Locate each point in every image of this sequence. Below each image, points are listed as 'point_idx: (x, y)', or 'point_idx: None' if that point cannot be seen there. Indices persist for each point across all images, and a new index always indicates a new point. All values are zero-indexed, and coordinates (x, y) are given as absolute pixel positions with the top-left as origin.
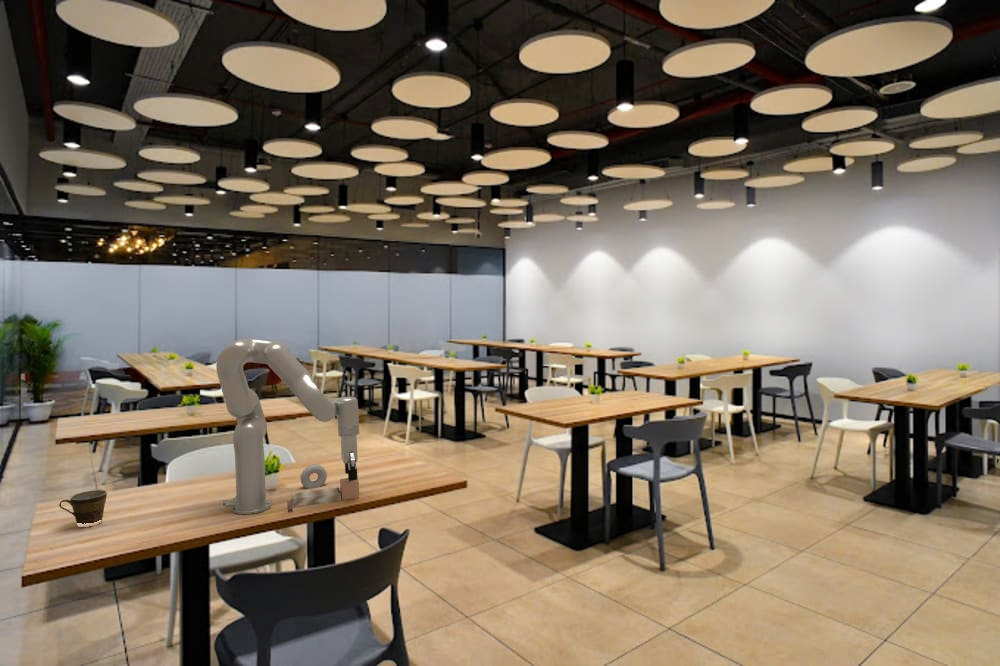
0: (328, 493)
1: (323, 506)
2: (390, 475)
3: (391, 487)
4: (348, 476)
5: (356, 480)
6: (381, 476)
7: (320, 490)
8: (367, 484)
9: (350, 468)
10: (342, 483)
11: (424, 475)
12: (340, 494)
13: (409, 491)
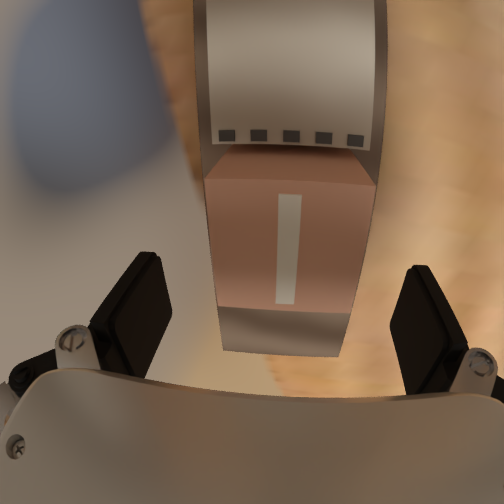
0: (241, 52)
1: None
2: None
3: (370, 364)
4: (123, 274)
5: (255, 299)
6: (500, 347)
7: (356, 7)
8: (471, 301)
9: (63, 350)
10: (206, 184)
11: None
12: (213, 139)
13: (287, 391)
